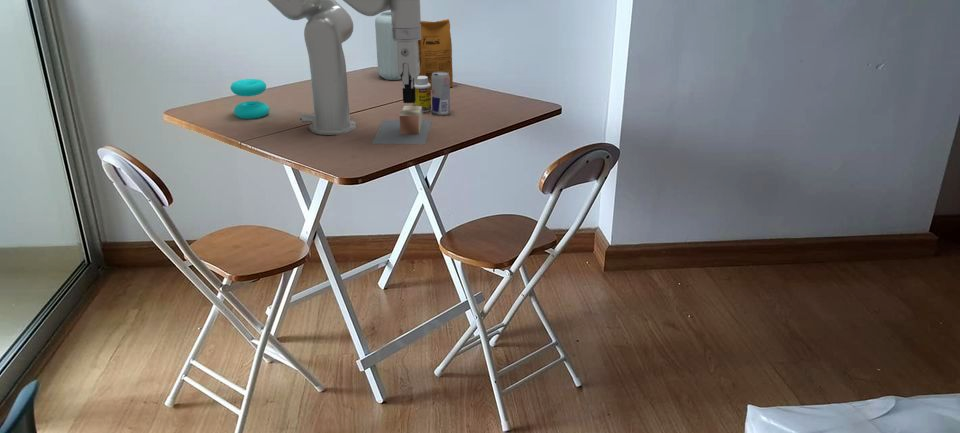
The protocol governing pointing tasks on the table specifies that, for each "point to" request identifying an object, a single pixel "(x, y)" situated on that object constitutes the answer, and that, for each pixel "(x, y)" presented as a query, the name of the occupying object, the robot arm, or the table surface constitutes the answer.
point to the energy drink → (440, 93)
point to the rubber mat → (391, 134)
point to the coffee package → (435, 49)
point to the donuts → (251, 107)
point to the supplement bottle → (423, 93)
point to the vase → (386, 47)
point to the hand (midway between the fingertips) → (409, 102)
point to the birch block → (411, 120)
